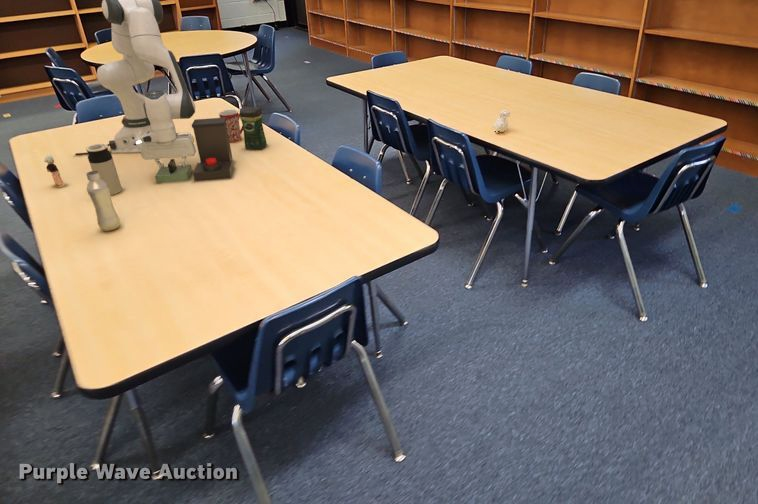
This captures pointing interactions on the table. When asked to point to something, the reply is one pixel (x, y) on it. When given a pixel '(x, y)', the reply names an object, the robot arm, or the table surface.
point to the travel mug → (104, 166)
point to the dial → (172, 166)
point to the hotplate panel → (174, 174)
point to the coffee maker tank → (212, 139)
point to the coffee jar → (253, 128)
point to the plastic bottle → (102, 201)
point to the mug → (232, 124)
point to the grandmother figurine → (54, 171)
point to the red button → (211, 161)
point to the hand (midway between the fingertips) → (172, 167)
